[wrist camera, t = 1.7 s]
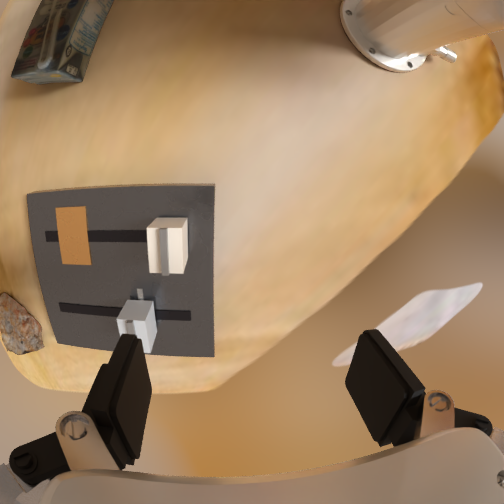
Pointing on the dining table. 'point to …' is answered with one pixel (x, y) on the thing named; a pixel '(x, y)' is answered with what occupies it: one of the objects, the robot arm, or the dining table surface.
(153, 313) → the white block
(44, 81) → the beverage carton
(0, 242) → the dining table surface
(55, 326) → the console
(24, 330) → the rock
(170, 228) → the fader cream
